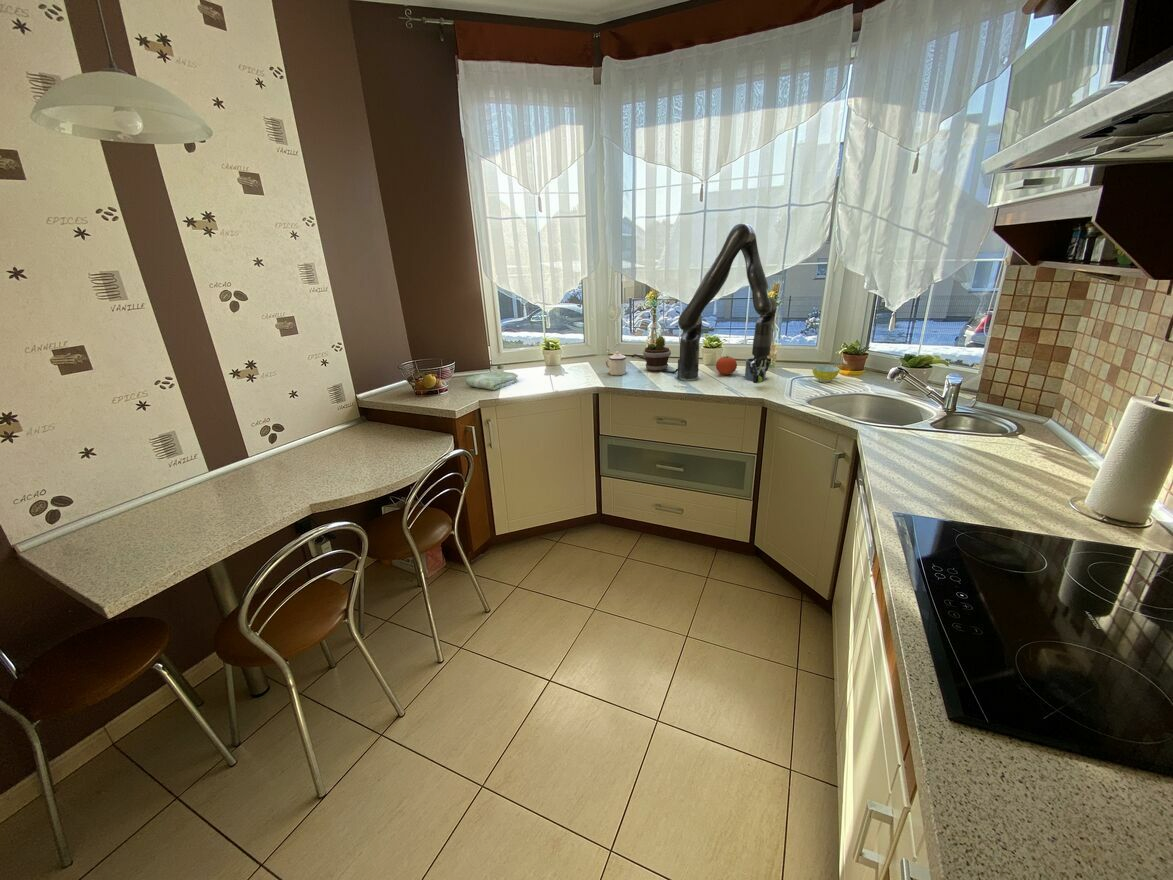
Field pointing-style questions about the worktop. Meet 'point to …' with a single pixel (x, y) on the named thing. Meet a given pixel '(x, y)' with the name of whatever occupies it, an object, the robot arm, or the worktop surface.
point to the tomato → (726, 365)
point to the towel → (492, 380)
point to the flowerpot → (657, 355)
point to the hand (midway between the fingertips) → (758, 381)
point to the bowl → (825, 372)
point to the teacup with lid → (617, 364)
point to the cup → (747, 370)
